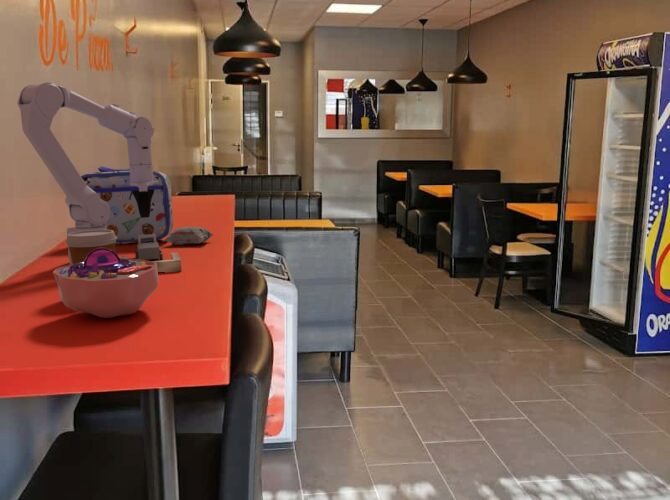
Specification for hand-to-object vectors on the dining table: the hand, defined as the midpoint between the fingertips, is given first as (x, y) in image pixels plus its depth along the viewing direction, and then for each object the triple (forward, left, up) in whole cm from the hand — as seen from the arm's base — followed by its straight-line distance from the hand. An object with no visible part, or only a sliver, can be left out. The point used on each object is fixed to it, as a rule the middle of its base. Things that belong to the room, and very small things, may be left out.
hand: (145, 217), depth 184 cm
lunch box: (-5, +22, -10) cm, 25 cm away
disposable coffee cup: (-11, -46, -10) cm, 48 cm away
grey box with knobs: (0, -10, -9) cm, 13 cm away
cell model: (-8, -65, -10) cm, 66 cm away
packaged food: (+11, +9, -10) cm, 17 cm away
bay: (0, -24, -9) cm, 25 cm away
